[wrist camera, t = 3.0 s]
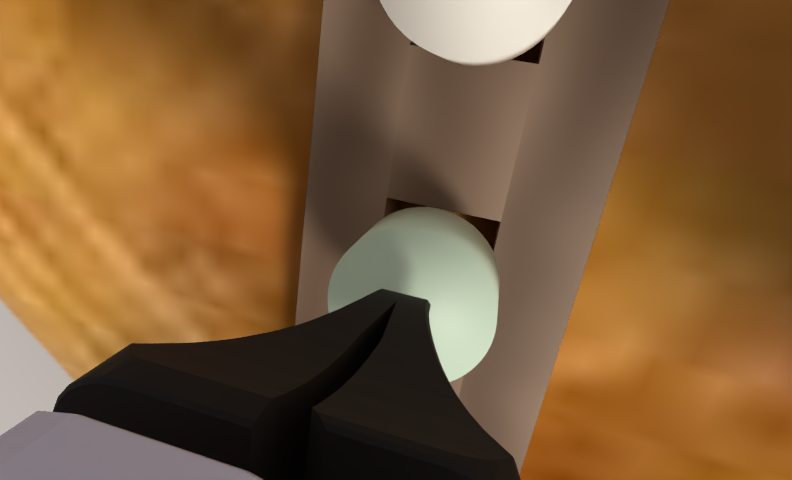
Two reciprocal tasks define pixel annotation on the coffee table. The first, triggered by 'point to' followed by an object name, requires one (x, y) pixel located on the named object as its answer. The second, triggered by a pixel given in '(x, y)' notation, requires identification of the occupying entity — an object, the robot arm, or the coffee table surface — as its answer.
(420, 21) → the button cream
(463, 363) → the button sage
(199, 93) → the coffee table surface
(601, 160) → the console
